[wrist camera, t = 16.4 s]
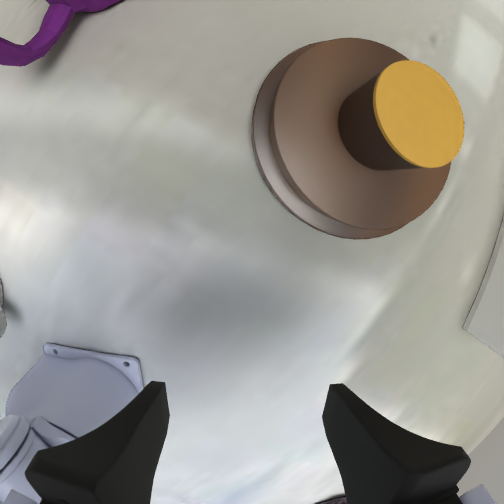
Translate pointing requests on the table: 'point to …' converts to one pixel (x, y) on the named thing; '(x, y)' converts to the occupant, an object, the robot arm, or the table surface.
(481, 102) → the table surface
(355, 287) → the table surface
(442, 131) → the coffee pod
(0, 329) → the cup
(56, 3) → the mug
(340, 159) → the pod stand
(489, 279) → the butter dish
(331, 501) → the crystal cluster
